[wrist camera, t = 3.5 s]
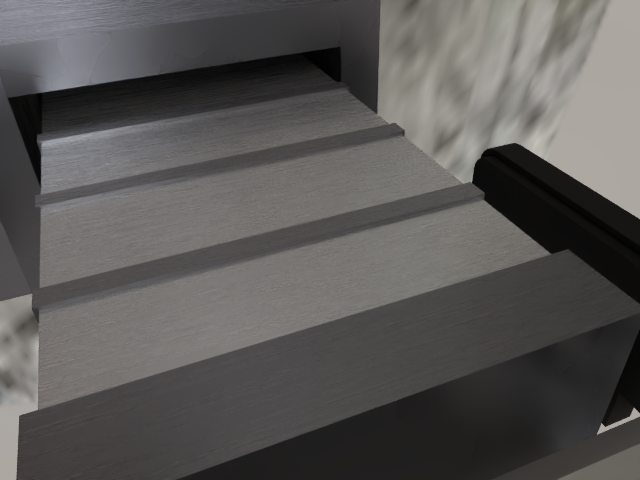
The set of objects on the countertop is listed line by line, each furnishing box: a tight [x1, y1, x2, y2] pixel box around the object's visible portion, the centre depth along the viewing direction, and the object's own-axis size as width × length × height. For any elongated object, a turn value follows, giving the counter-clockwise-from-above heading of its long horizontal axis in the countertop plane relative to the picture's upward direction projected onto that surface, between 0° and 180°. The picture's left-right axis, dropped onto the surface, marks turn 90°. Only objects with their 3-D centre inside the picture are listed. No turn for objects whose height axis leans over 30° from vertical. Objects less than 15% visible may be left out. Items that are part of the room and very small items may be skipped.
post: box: [16, 53, 640, 480], centre depth 12 cm, size 5×5×17 cm
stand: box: [0, 0, 380, 301], centre depth 16 cm, size 16×16×12 cm
